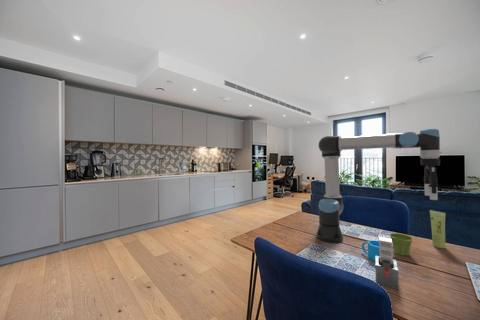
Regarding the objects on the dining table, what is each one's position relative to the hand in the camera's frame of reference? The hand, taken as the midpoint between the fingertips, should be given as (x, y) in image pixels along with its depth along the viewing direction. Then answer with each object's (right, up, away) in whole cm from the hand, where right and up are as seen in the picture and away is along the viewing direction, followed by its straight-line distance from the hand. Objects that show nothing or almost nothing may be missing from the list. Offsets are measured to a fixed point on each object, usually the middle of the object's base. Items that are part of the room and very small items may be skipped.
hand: (430, 197), depth 103 cm
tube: (+7, -28, +3) cm, 29 cm away
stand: (-45, -29, -27) cm, 60 cm away
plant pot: (-19, -28, -4) cm, 34 cm away
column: (-45, -27, -27) cm, 59 cm away
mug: (-37, -29, -9) cm, 47 cm away
